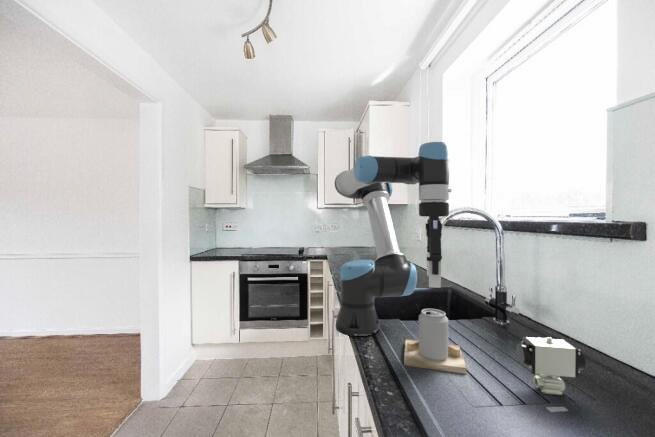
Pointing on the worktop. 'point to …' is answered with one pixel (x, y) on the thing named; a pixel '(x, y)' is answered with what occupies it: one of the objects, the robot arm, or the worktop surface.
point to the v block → (448, 364)
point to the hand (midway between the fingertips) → (433, 281)
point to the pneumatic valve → (550, 362)
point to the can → (433, 334)
